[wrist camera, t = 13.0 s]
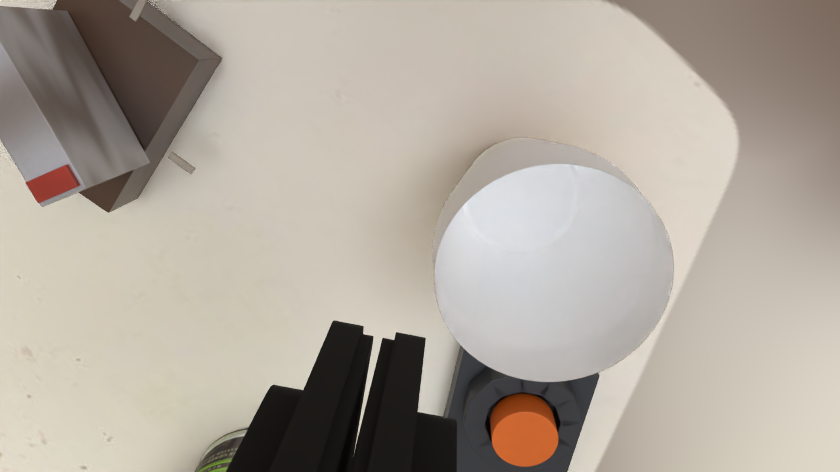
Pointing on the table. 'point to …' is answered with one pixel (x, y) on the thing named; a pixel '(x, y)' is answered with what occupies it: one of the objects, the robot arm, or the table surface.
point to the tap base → (142, 80)
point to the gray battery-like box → (59, 107)
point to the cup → (549, 262)
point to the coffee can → (221, 453)
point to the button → (523, 430)
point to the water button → (486, 387)
